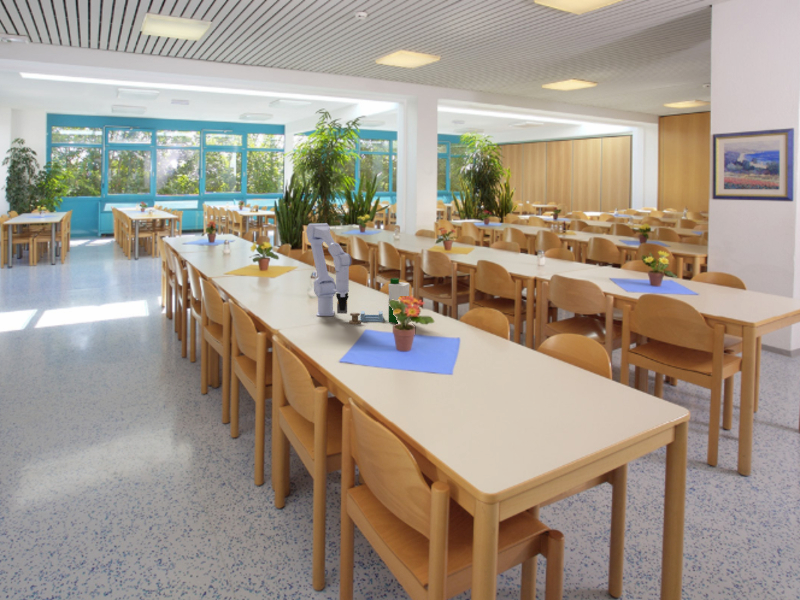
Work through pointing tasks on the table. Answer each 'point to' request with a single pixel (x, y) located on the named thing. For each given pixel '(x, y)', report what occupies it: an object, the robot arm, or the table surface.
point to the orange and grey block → (341, 311)
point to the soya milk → (396, 294)
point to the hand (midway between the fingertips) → (342, 309)
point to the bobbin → (354, 318)
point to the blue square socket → (371, 317)
